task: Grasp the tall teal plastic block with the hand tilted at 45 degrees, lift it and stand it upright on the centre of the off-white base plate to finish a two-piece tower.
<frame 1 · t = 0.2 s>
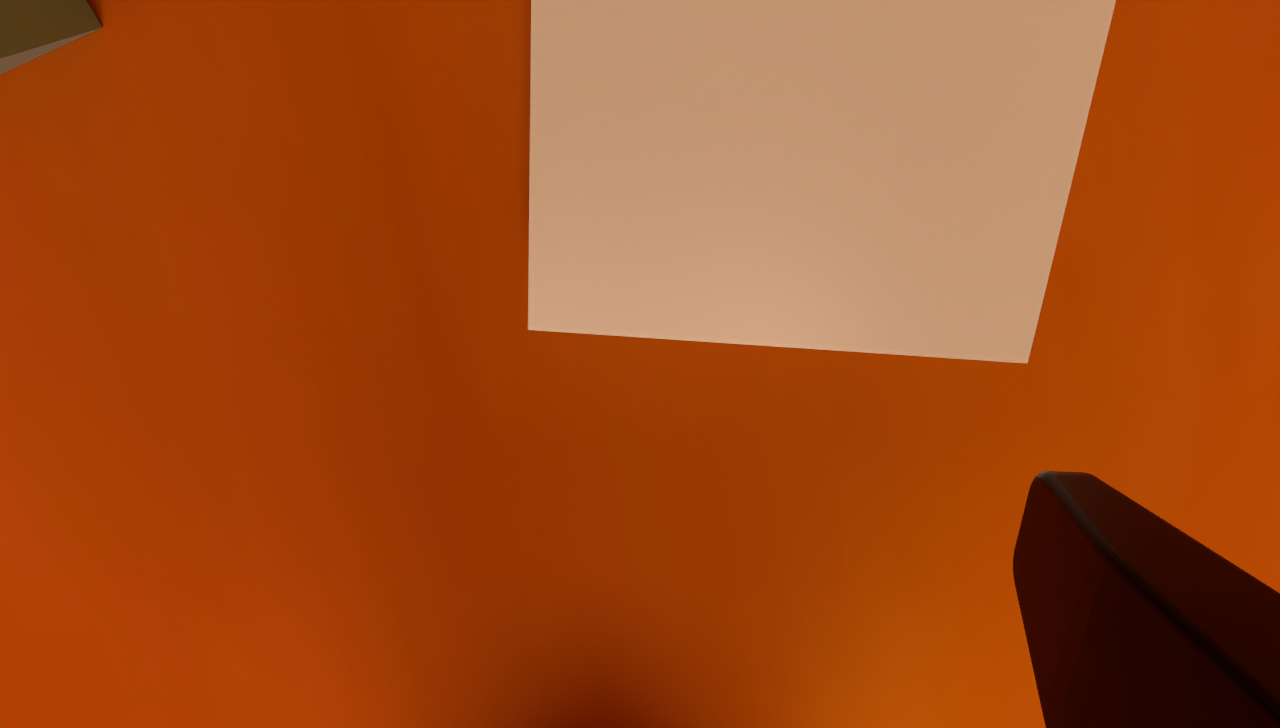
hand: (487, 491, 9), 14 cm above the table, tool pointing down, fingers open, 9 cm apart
base plate: (793, 63, 22), on the table
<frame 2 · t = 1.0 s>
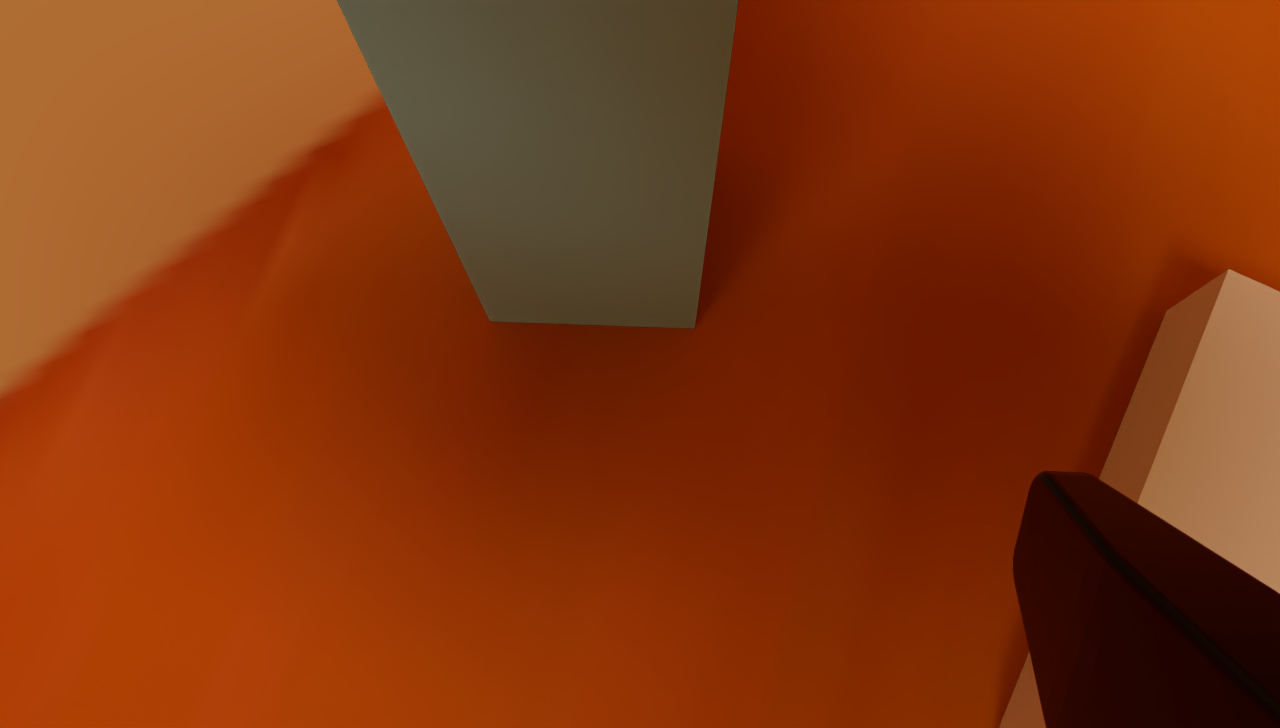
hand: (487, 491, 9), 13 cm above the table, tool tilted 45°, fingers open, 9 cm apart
tall block: (597, 229, 24), on the table
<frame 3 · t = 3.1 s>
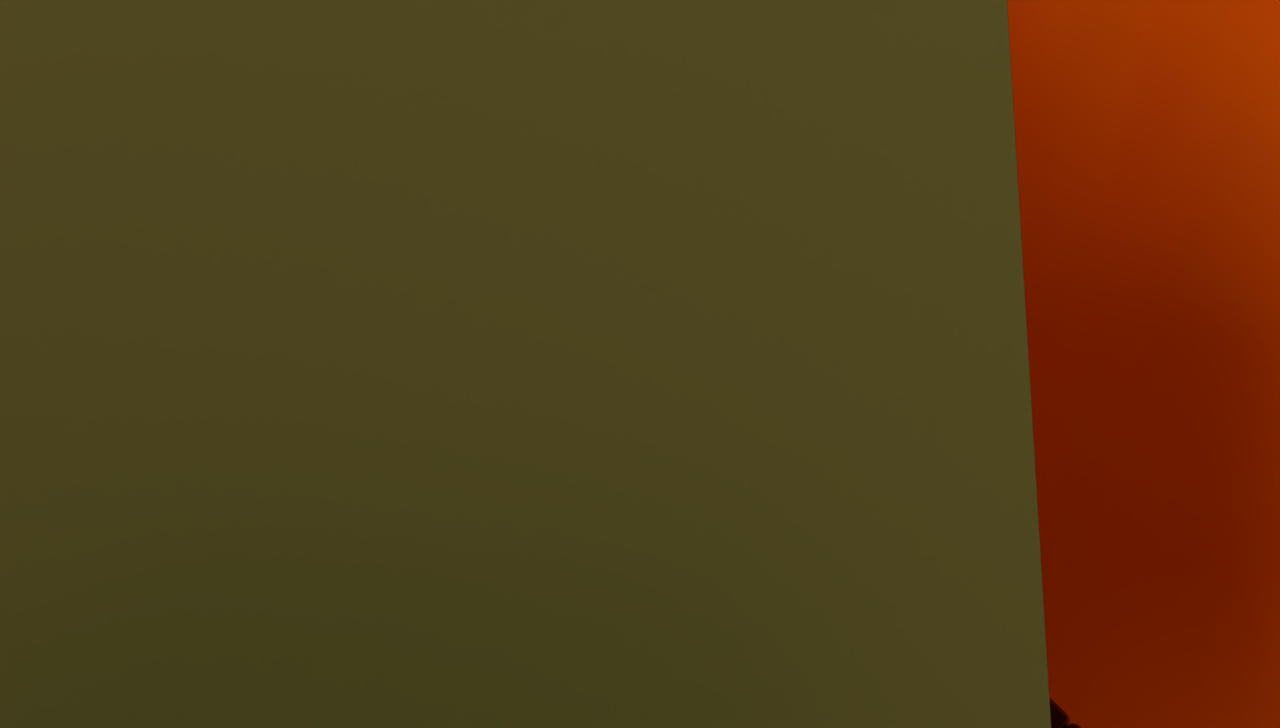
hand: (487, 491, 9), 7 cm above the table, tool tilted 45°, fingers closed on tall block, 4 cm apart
tall block: (548, 668, 15), on the table, touching gripper
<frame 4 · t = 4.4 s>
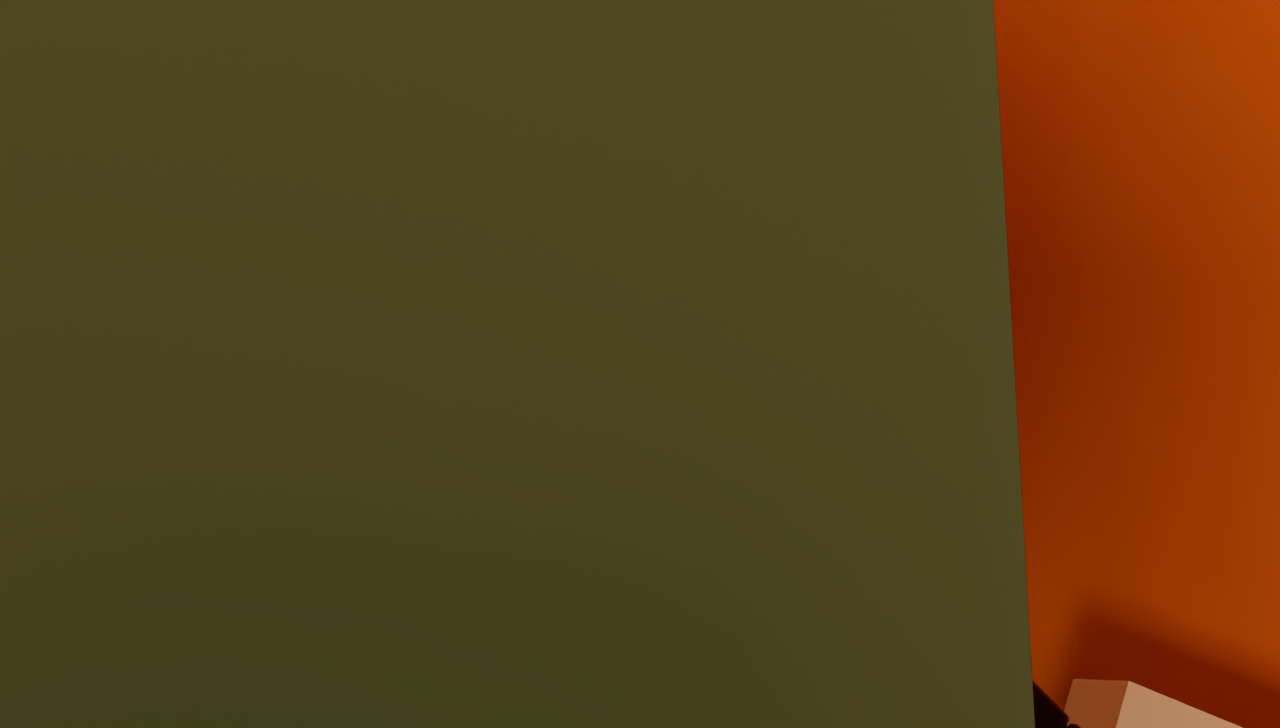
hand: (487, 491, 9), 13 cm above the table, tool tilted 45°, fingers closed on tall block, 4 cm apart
tall block: (546, 665, 15), point 7 cm above the table, touching gripper
when the fingers open (10 cm above the table, at t = 6.2 s): tall block drops 1 cm, resting on base plate.
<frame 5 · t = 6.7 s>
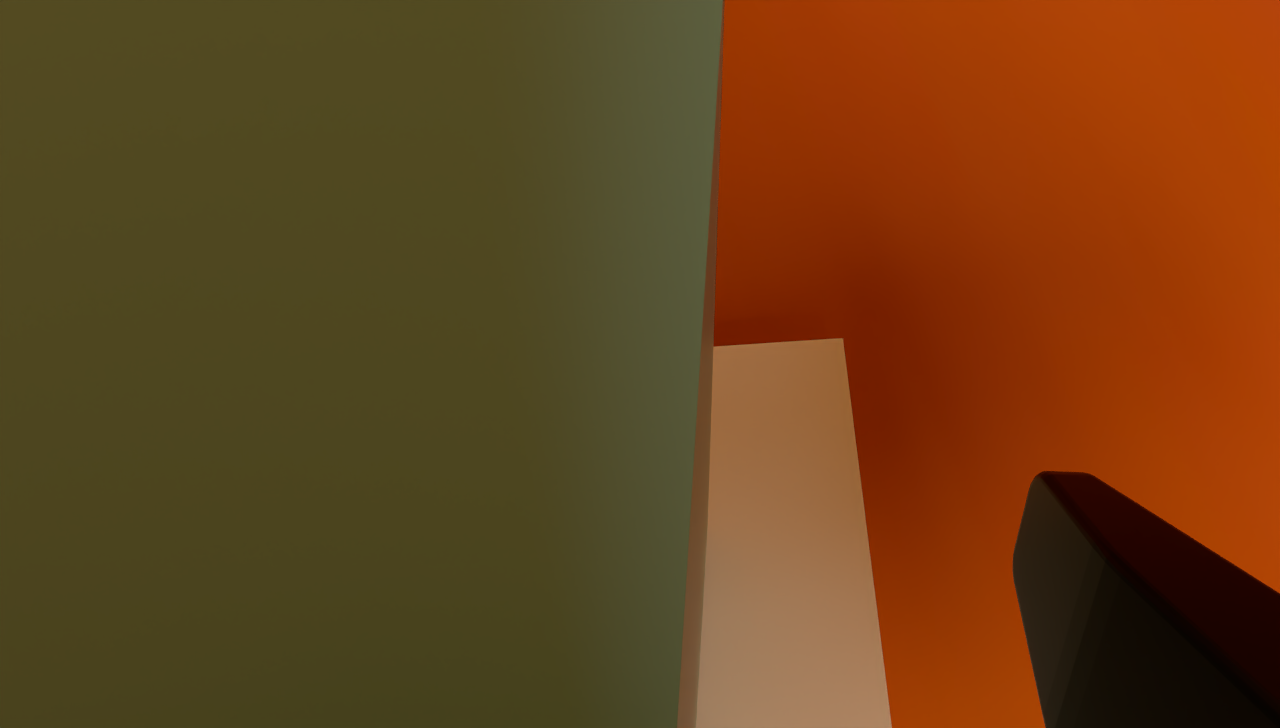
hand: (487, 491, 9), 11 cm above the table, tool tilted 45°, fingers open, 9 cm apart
tall block: (551, 661, 16), point 3 cm above the table, touching base plate
base plate: (571, 669, 19), on the table, touching tall block
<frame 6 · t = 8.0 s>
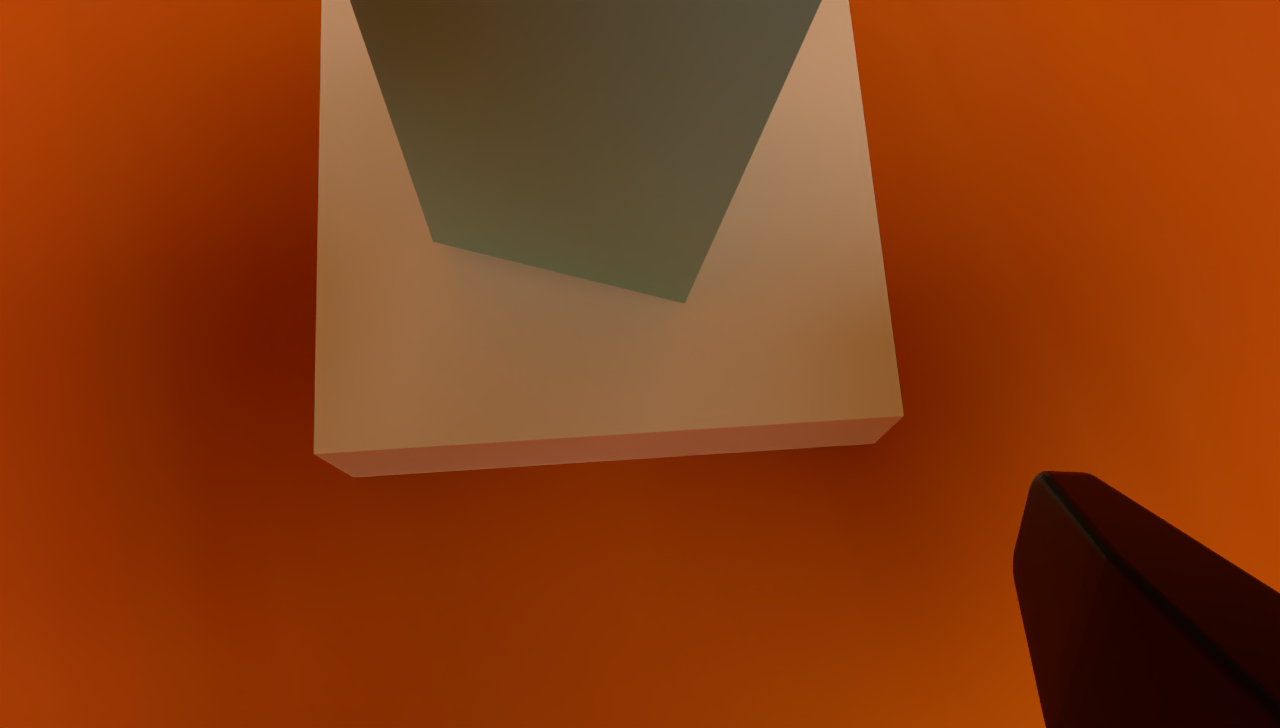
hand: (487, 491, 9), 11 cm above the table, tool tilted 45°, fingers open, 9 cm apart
tall block: (589, 155, 19), point 3 cm above the table, tilted 6°
base plate: (601, 229, 22), on the table
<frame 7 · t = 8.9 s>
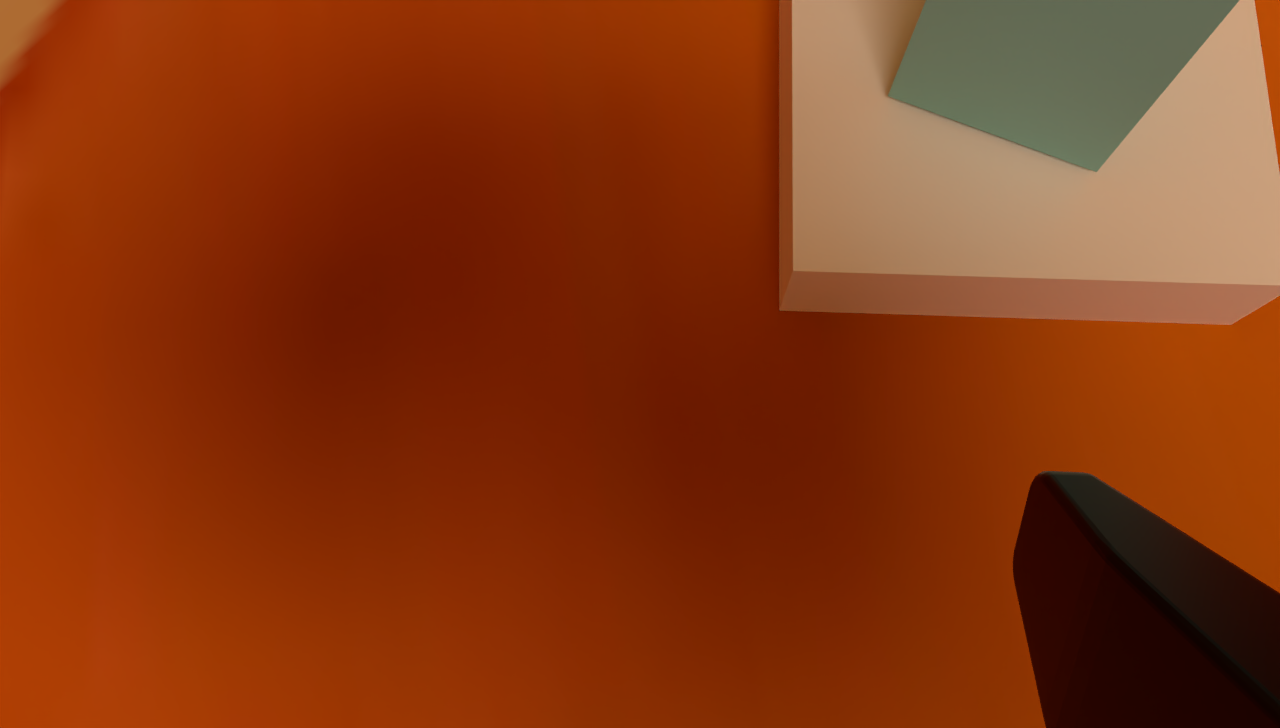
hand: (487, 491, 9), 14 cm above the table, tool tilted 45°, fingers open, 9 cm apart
tall block: (1022, 48, 23), point 3 cm above the table, touching base plate
base plate: (984, 128, 25), on the table, touching tall block
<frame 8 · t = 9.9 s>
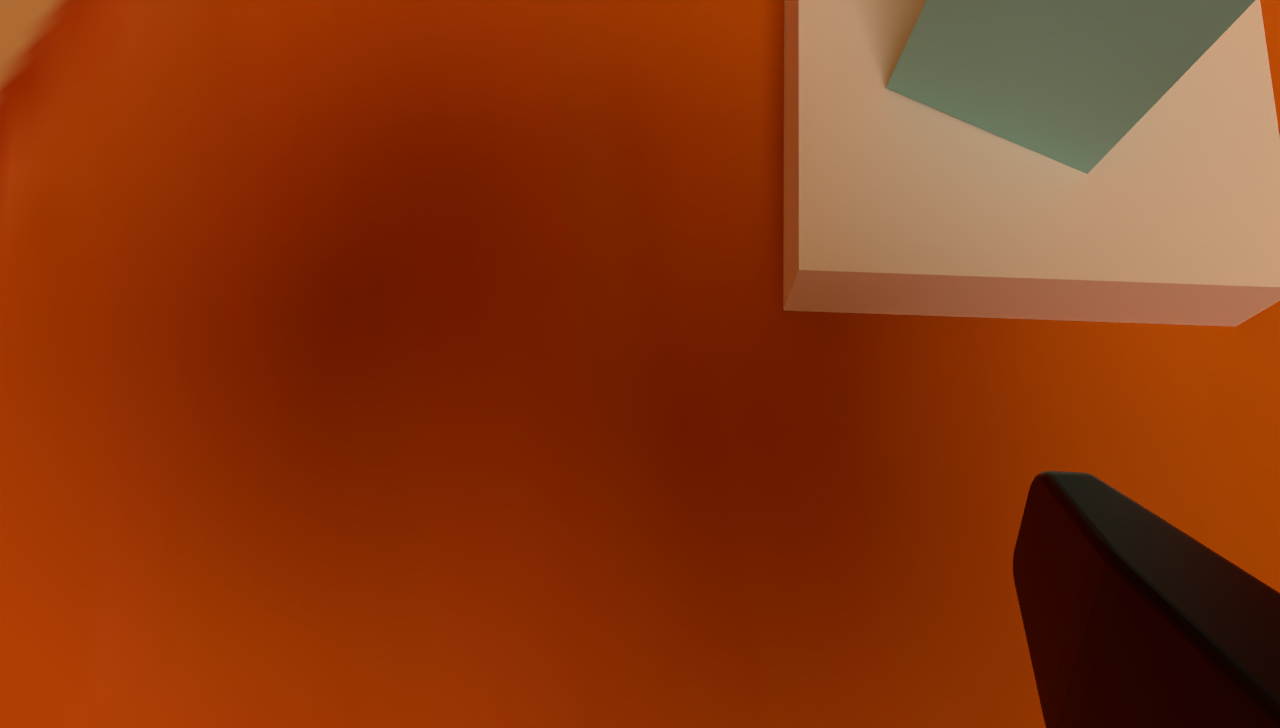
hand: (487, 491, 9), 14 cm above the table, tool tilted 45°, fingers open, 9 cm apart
tall block: (1022, 45, 23), point 2 cm above the table, touching base plate
base plate: (989, 128, 25), on the table, touching tall block
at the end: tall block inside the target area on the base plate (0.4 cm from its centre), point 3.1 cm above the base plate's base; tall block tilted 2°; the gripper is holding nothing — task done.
